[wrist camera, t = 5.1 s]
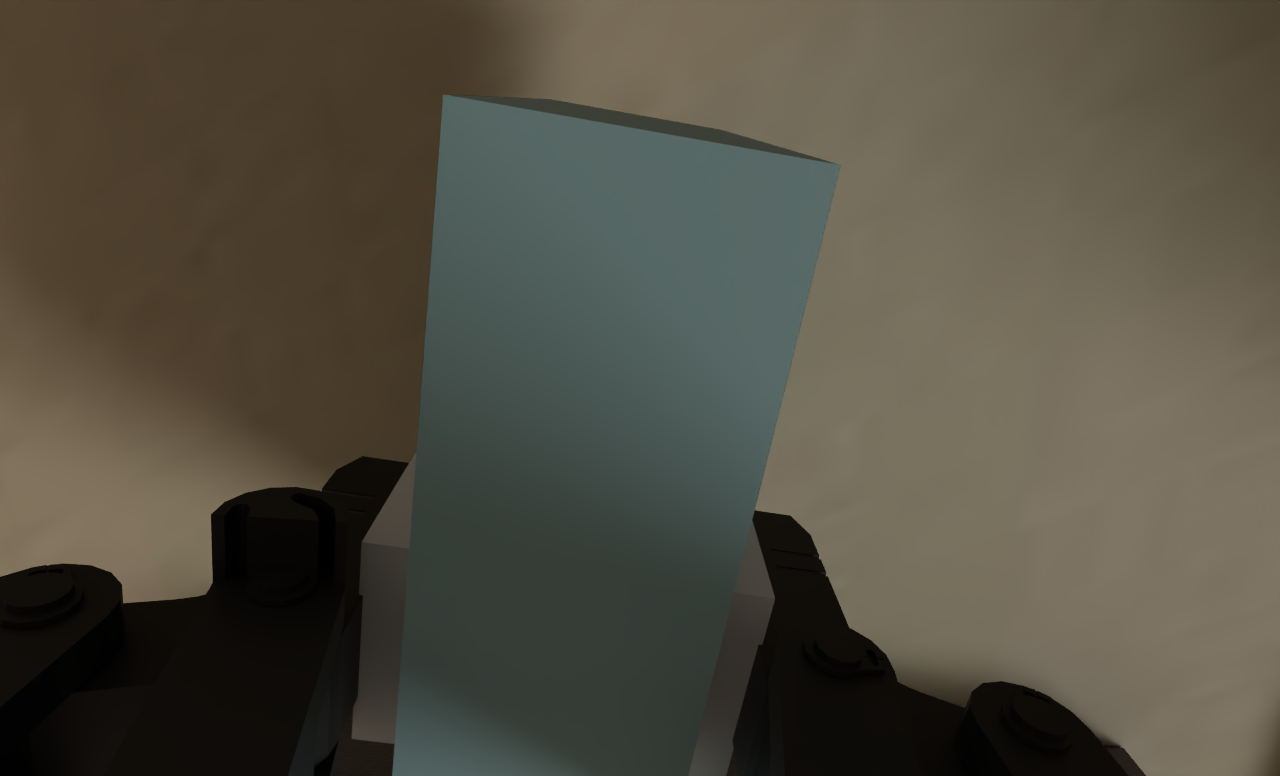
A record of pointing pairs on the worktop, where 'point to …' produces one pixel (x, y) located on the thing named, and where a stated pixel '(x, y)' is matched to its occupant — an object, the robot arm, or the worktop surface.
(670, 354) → the panel
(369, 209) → the worktop surface
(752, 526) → the robot arm
